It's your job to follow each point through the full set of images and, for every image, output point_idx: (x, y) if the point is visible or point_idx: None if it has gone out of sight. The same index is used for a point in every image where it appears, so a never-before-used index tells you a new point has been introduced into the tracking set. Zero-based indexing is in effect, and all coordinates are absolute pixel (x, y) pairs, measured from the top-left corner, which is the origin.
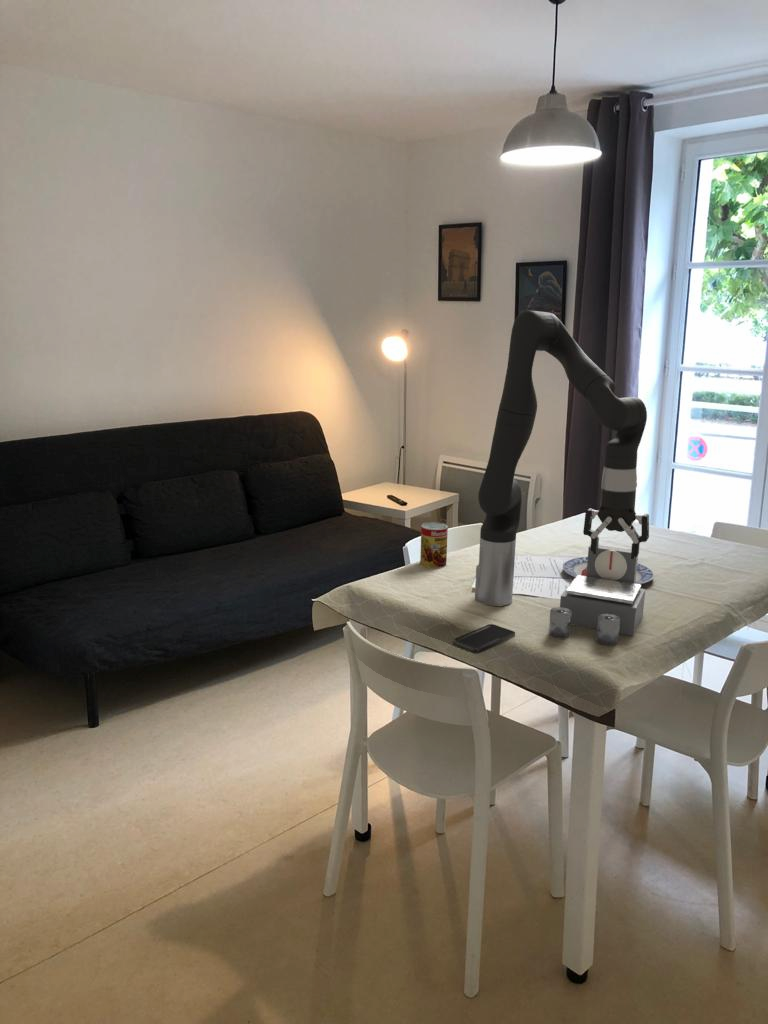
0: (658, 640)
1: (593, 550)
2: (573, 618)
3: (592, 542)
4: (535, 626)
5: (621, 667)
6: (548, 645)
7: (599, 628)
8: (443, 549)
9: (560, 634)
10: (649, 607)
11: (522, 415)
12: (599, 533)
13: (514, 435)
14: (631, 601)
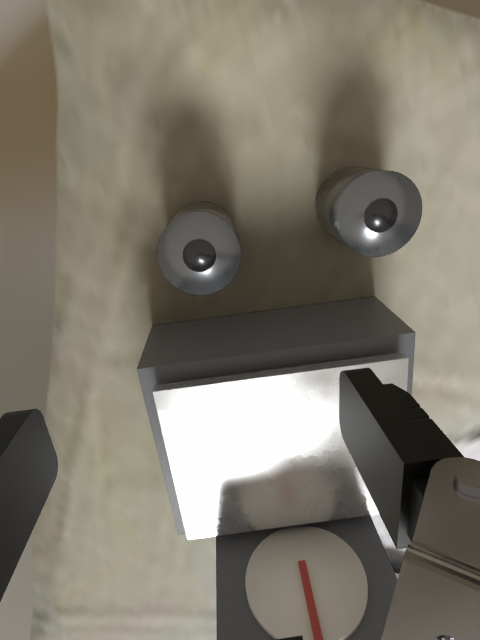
0: (80, 334)
1: (376, 381)
2: (337, 310)
3: (430, 440)
4: (434, 224)
5: (80, 38)
6: (358, 84)
7: (222, 215)
8: None
9: (342, 171)
10: None
11: None
12: (416, 539)
13: None
14: (158, 389)
